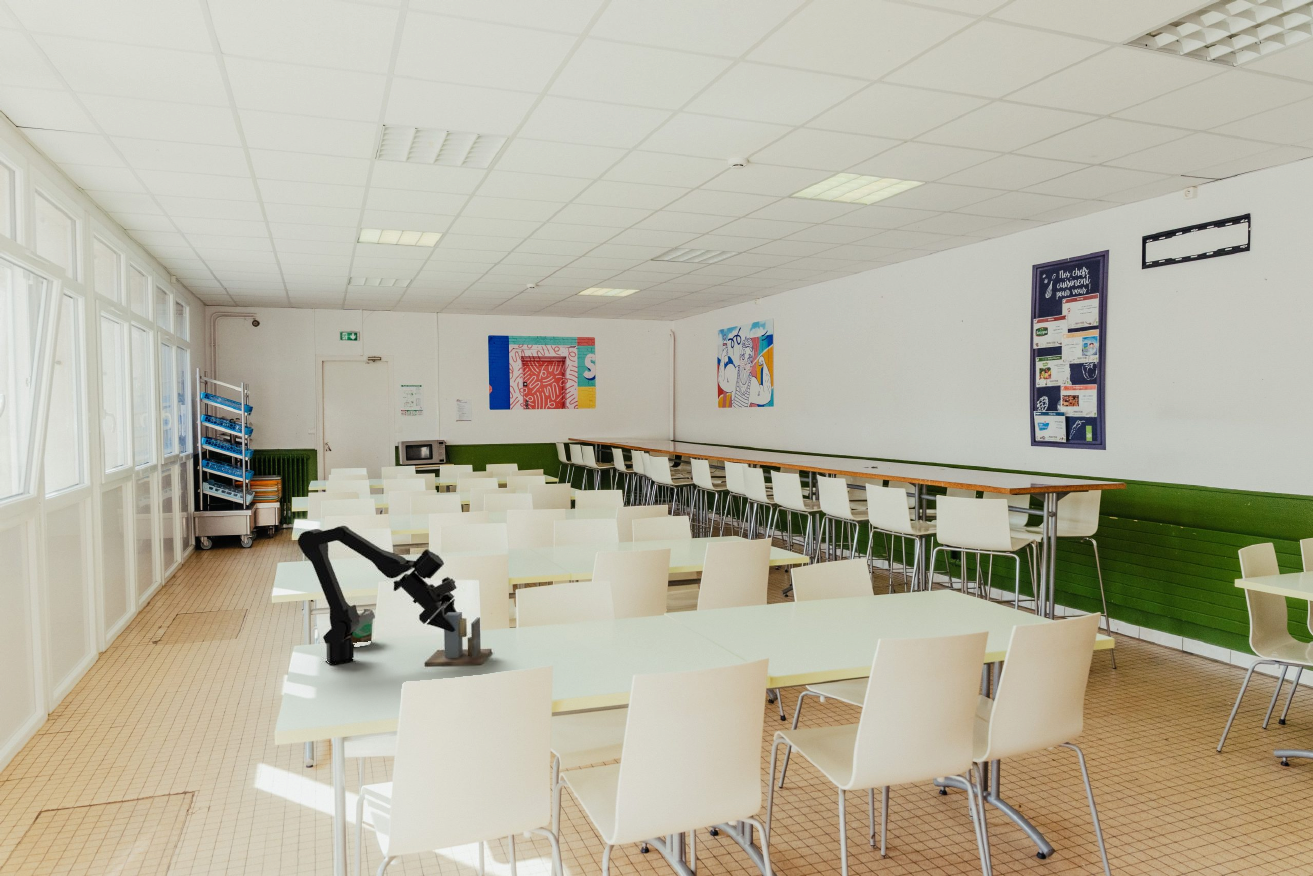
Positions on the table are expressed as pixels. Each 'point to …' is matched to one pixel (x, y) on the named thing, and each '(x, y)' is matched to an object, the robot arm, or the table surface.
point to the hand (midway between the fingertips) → (458, 627)
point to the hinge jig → (464, 651)
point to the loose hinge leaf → (455, 635)
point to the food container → (364, 627)
